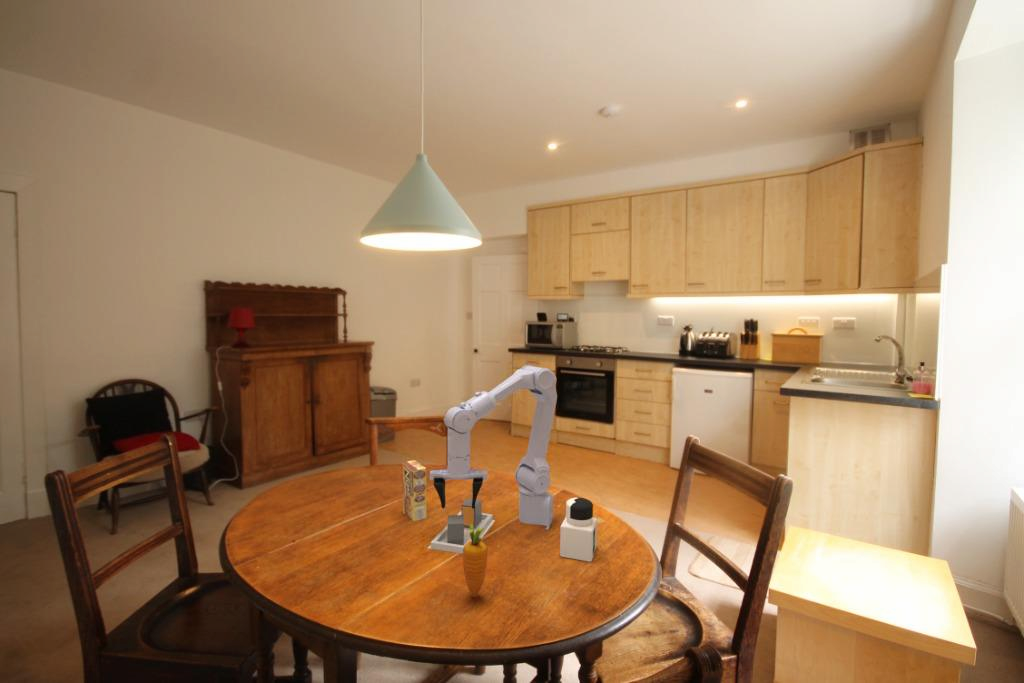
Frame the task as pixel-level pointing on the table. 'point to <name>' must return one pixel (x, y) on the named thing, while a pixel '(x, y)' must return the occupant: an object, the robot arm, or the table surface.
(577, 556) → the container
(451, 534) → the grey block orange top
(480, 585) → the carrot
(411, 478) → the candy box
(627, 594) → the table surface
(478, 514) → the grey toy block
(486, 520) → the white tray
